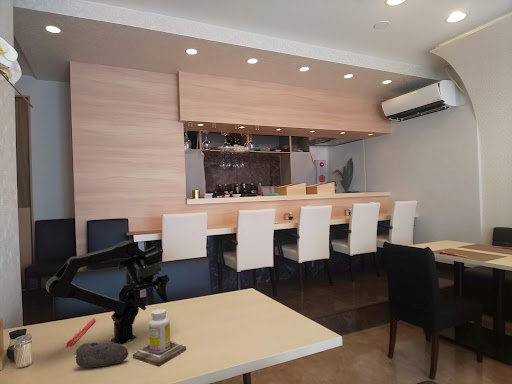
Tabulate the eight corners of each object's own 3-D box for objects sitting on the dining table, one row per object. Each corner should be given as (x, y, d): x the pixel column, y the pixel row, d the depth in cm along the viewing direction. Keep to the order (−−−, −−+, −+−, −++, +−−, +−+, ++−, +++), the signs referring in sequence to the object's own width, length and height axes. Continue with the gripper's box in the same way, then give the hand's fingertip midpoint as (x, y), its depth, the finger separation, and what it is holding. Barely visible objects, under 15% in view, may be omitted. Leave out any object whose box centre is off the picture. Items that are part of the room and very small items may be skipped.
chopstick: (62, 350, 114) (75, 345, 115) (60, 344, 114) (73, 339, 114) (88, 324, 138) (99, 320, 138) (86, 320, 138) (97, 316, 138)
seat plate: (132, 357, 104) (132, 351, 105) (160, 343, 115) (160, 336, 115) (159, 366, 98) (159, 359, 99) (186, 349, 109) (185, 343, 109)
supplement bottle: (167, 343, 111) (166, 306, 112) (172, 351, 106) (171, 312, 106) (147, 348, 108) (146, 310, 108) (151, 356, 102) (150, 316, 103)
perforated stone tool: (130, 358, 104) (130, 336, 105) (126, 366, 99) (125, 344, 99) (81, 363, 102) (81, 341, 102) (74, 371, 97) (74, 348, 97)
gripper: (122, 262, 110) (143, 299, 104) (166, 253, 126) (186, 285, 119) (110, 282, 115) (129, 319, 108) (153, 271, 130) (172, 303, 123)
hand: (156, 305), depth 114 cm, fingers open, 9 cm apart
